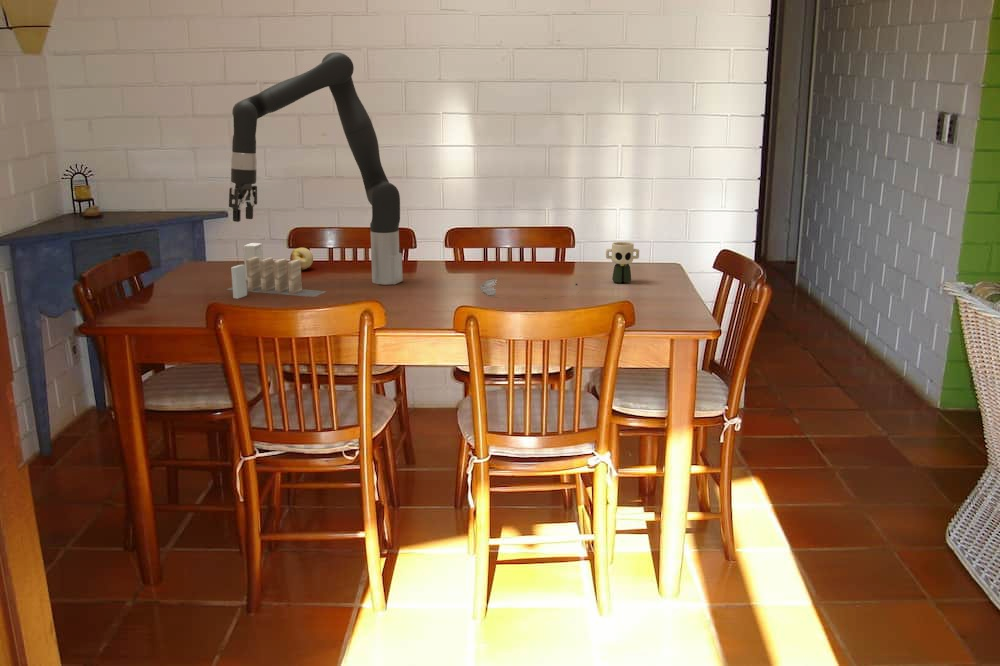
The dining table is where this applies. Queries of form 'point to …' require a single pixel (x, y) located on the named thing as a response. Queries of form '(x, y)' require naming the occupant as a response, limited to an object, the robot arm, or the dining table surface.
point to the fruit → (302, 257)
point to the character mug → (622, 260)
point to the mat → (302, 293)
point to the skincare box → (252, 252)
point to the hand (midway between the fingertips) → (243, 220)
